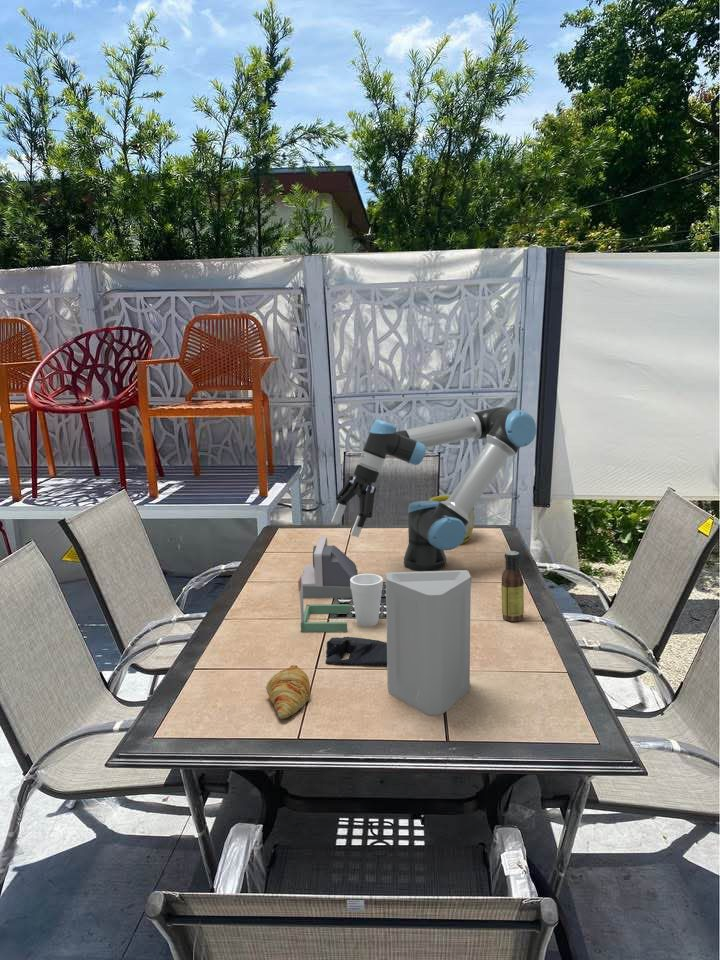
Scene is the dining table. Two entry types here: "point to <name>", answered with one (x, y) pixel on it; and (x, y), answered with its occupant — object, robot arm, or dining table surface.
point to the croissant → (289, 691)
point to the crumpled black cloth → (356, 651)
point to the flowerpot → (471, 517)
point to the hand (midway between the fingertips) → (344, 529)
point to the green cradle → (321, 609)
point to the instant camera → (328, 573)
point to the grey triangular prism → (428, 638)
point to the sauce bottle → (512, 589)
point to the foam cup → (366, 598)
